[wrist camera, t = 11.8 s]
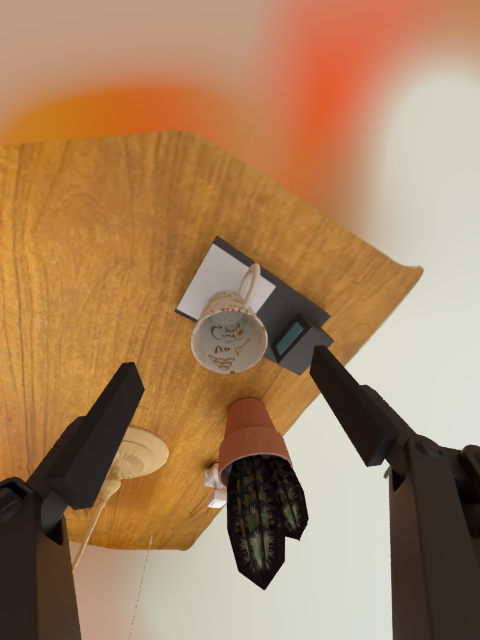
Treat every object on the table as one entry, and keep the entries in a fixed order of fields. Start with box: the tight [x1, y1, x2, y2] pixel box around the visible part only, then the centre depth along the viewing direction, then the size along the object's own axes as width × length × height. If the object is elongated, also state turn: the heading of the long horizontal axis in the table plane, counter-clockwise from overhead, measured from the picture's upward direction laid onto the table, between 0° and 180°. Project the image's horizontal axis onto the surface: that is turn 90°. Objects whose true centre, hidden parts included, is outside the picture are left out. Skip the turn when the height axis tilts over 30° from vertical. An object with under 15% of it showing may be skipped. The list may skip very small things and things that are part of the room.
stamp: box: [202, 463, 227, 508], centre depth 51 cm, size 9×7×8 cm
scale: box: [175, 236, 334, 375], centre depth 29 cm, size 23×13×7 cm, turn 56°
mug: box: [190, 263, 268, 374], centre depth 23 cm, size 8×13×10 cm, turn 157°
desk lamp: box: [72, 426, 169, 573], centre depth 30 cm, size 31×23×40 cm
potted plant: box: [218, 398, 309, 590], centre depth 34 cm, size 14×14×25 cm
